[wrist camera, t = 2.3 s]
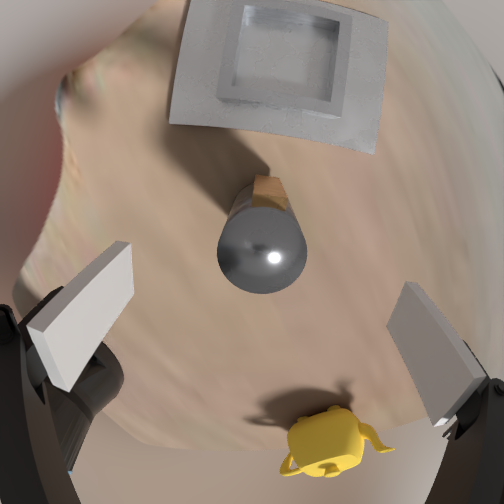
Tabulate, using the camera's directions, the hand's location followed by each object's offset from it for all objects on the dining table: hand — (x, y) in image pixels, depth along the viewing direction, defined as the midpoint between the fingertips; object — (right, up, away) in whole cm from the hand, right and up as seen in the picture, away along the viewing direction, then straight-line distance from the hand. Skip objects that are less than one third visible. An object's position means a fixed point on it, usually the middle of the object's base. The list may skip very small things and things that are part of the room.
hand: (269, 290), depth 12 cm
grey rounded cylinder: (0, +5, +13) cm, 14 cm away
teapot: (+12, -26, +26) cm, 38 cm away
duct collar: (+2, +18, +7) cm, 20 cm away
